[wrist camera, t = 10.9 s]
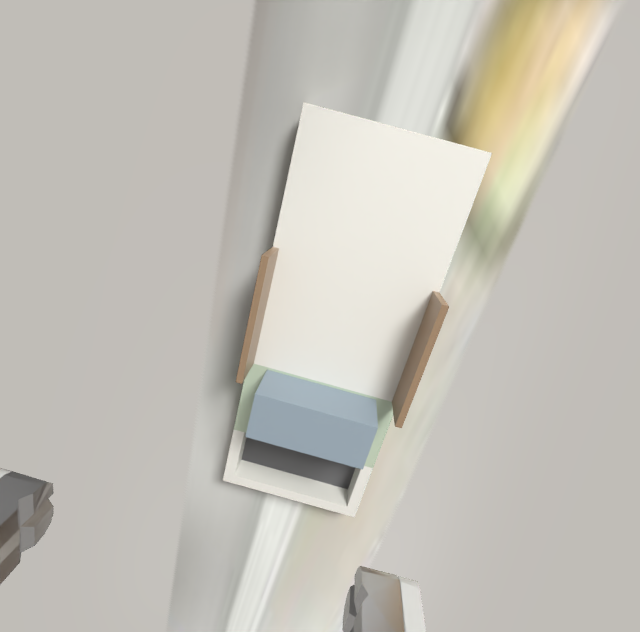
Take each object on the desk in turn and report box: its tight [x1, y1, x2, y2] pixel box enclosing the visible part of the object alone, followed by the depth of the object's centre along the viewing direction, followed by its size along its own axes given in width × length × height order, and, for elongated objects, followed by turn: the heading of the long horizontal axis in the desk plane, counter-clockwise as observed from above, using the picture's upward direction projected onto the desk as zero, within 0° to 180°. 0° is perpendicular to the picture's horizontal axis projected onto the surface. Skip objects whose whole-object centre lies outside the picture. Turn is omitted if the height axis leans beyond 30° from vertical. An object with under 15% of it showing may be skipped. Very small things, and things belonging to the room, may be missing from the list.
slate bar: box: [245, 370, 378, 470], centre depth 32 cm, size 4×10×4 cm, turn 76°
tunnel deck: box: [223, 102, 492, 517], centre depth 31 cm, size 33×13×6 cm, turn 166°
